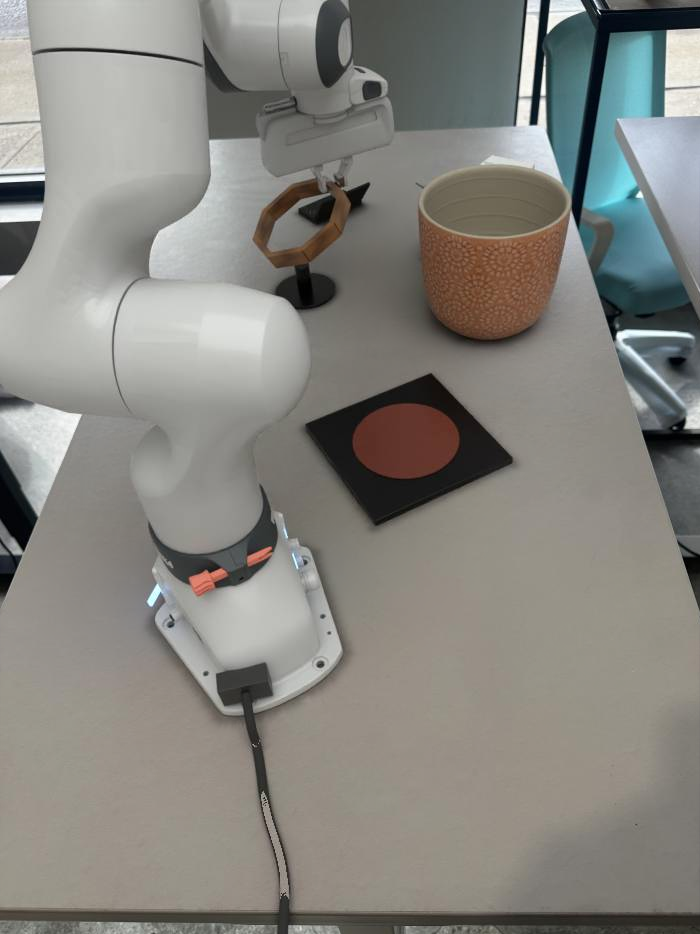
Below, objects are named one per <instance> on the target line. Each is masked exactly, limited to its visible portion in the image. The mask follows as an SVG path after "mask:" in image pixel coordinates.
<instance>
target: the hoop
mask: <svg viewBox="0 0 700 934" xmlns="http://www.w3.org/2000/svg"><path fill="white" fill-rule="evenodd" d="M331 183H332V185H331V187H332V191H329V192H326V193H322V192H321V191H320V190H319V187H318V179H317V178H316V177H313V178H309V179H306V180H302V181H297V182H293V183H291V184H290V185H289V186H288V187H286V188H285V189H284V190H283V191H282V192H281V193H280V194H279V195H278V196H276V197H275V198H274V199H273V200H271V202H269V203H268V204H267V205H266V206H265V207H264V208H263V209H262V210H261V213H260V216H259V218H258V221H257V224H256V228H255V230H254V233H253V236H252V242H253V243H254V245H255V246H256V247H257V248H258V250H259V251H260V252H261V253H262V255H264V257H265V258H266V259H267V260H268V261H269V263H270V264H271V265H272V266H273V267H274V268H275V269H283V268H288V267H289V268H290V267H294V266H295V265H301V264H306V263H309V264H311V263H312V262H313V261H314V260H316V259H317V257H318V256H320V254H322V253H323V252H324V251H325V250H327V249H328V248H329V247H330V246H331V245H333V244H334V243H335V242H336V241H337V240H338V239H340V237H342V236H343V234H344V230H345V226H346V223H347V220H348V216H349V212H350V210H349V209H350V206H351V203H350V201H349V199H348V198H347V196H346V194H345V193H344V191H343V190H344V189H342V188H339V187H338V186H337V185H336V184H335V183H334V181H333V180H331ZM327 194H329V195H332V196H333V197H335V198H336V201H335V205H334V208H333V211H332V215H331V218H330V219H329V221H328V222H327V223H326V224H325V225H324V226H323V227H322V228H320V230H318V231H317V232H316V233H315V234H314V235H313V236H312V237H310V238H309V239H308V240H307V241H305V242H304V243H303V244H302V245H301V246H297V247H296V246H295V247H290V248H286V249H280V250H275V251H272V250H270V248H269V247H268V245H269V242H270V239H271V236H272V233H273V230H274V227H275V224H276V222H277V221H278V220H279V219H281V217H283V216H284V215H285V214H286V213H288V211H290V210H291V209H292V208H293V207H294V206H295V205H297V203H299V202H300V201H302V200H305V199H309V198H313V197H318V196H322V195H327Z"/></svg>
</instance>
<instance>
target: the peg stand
mask: <svg viewBox="0 0 700 934" xmlns="http://www.w3.org/2000/svg"><path fill="white" fill-rule="evenodd" d="M293 267H294V273H295V274H294V275H289V276H288V277H286V278H284V279H283V280H282V281H280V282H279V283H278V284H277V286H276V288H275V292H274V293H275V294H274V295H276V296H279V297H282V298H285V299H286V300H288V301H289V302H290V304H291V305H292V306H293V307H294V308H295V310H311V309H315V308H320V307H321V306H323V305H325V304H327V303H328V302H330V301H331V300H332V299H333V298H334V296H335V295H336V290H337V288H336V284H335V282H334V280H333V279H331V277H329V276H327V275H325V274H322V273H317V272H311V268H310V263H306V264H301V265H295V266H293Z"/></svg>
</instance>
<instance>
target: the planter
mask: <svg viewBox="0 0 700 934" xmlns="http://www.w3.org/2000/svg"><path fill="white" fill-rule="evenodd" d="M417 199H418V200H417V217H418V218H417V219H418V221H417V223H418V236H419V237H418V238H419V250H420V252H419V253H420V262H421V263H420V264H421V272H422V279H423V280H422V281H423V286H424V292H425V297H426V299H427V303H428V305H429V308H430V310H431V311H432V313H433V315H434V316H435V317H436V319H437V320H438V321H440V322H441V324H443V325H444V326H445V327H446V328H448V329H449V330H451V331H453V332H455V333H457V334H459V335H461V336H463V337H467V338H469V339H475V340H485V341H487V340H489V341H492V340H499V339H504V338H509V337H513V336H515V335H517V334H519V333H521V332H523V331H524V330H527V329H528V328H529V327H531V326H532V325H533V324H535V323H536V322H538V320H539V319H540V318H541V316H543V314H544V312H545V311H546V309H547V308H548V306H549V304H550V301H551V299H552V296H553V292H554V290H555V288H556V285H557V280H558V276H559V273H560V268H561V264H562V260H563V255H564V251H565V250H564V249H565V245H566V241H567V235H568V230H569V224H570V218H571V213H572V204H573V201H572V195H571V194H570V191H569V190H568V188H567V186H565V185H564V184H563V183H562V182H561V181H560V180H558V179H557V178H556V177H553V176H552V175H550V174H548V173H545V172H544V171H541V170H537V169H531V168H527V167H522V166H515V165H505V164H485V165H480V164H477V165H476V164H475V165H469V166H465V167H460V168H457V169H453V170H450V171H448V172H445V173H443V174H441V175H439V176H437V177H435V178H433V179H432V180H431V181H430V182H428V183H427V184H426V185H425V187H424V189H423V188H422V190H421V192H420V193H419V196H418V198H417Z"/></svg>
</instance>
